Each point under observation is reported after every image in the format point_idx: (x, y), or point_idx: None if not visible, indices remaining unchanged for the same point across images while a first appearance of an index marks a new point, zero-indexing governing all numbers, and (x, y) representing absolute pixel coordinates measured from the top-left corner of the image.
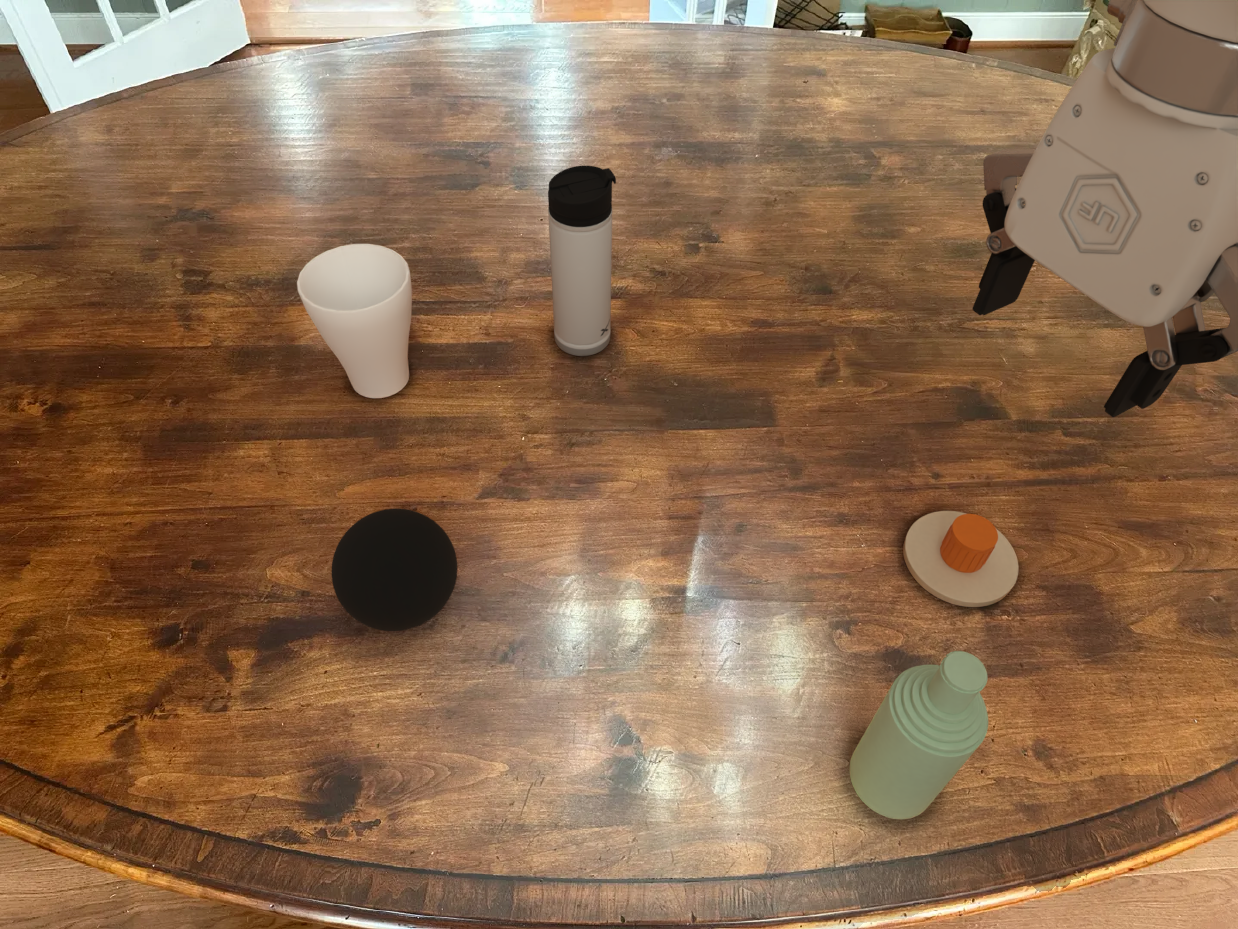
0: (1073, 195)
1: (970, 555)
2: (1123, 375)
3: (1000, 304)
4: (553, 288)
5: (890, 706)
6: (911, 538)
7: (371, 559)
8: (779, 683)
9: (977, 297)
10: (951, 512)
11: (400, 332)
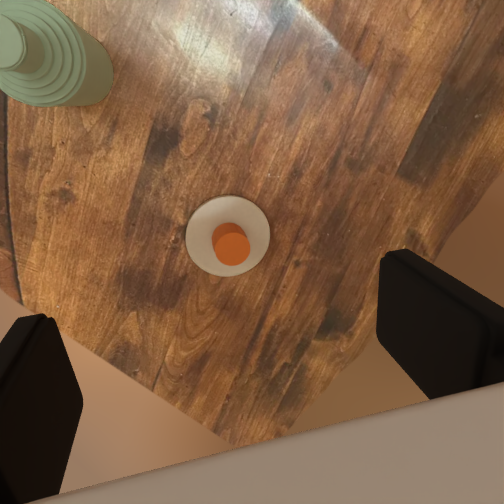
0: None
1: (218, 236)
2: (8, 383)
3: (384, 303)
4: None
5: (48, 3)
6: (256, 211)
7: None
8: (184, 27)
9: (423, 260)
10: (263, 253)
11: None
